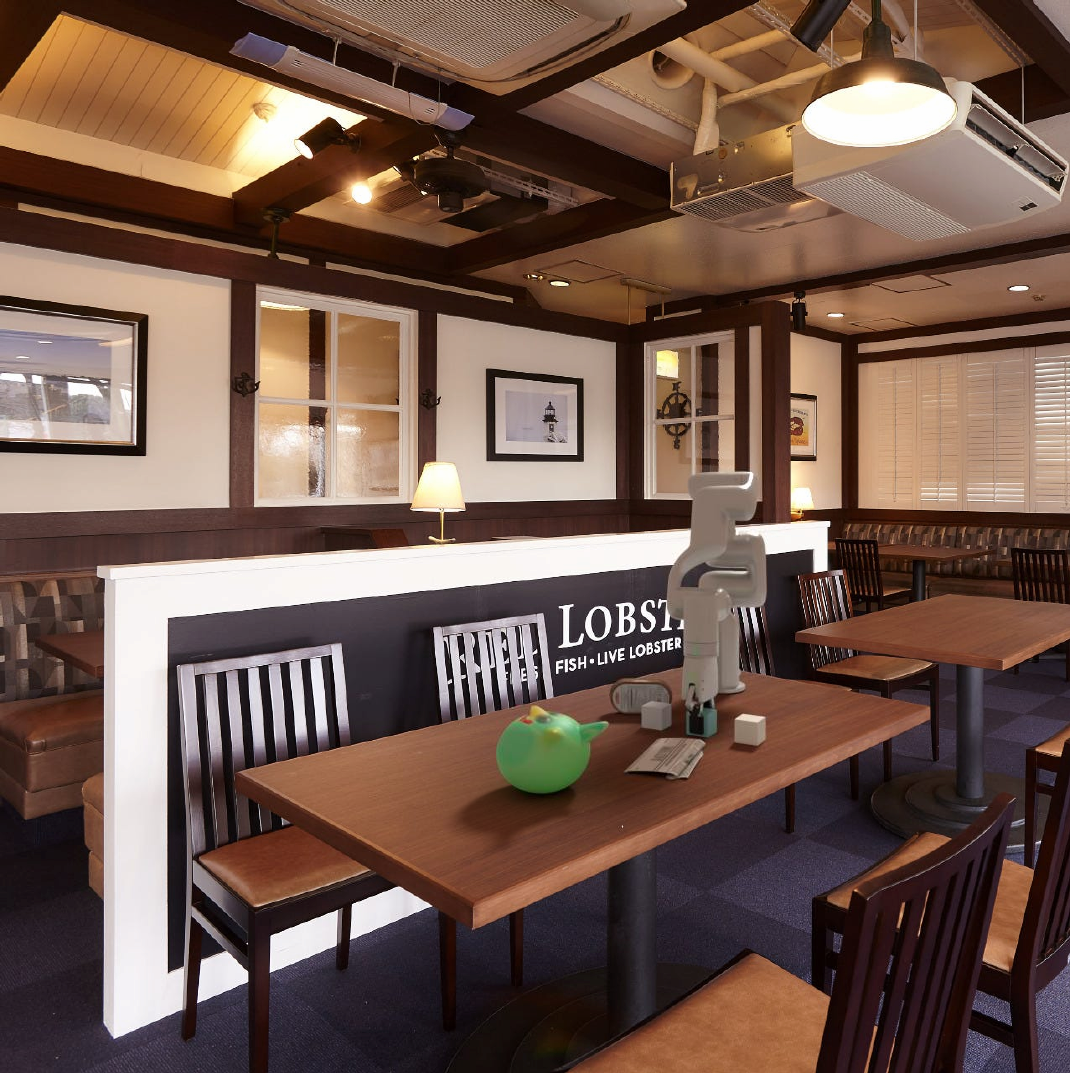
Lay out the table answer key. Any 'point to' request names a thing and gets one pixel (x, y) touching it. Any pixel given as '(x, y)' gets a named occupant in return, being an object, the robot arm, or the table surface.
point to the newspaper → (670, 757)
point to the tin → (638, 694)
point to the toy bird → (545, 750)
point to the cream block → (750, 729)
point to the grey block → (656, 715)
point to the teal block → (706, 722)
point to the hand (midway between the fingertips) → (701, 729)
